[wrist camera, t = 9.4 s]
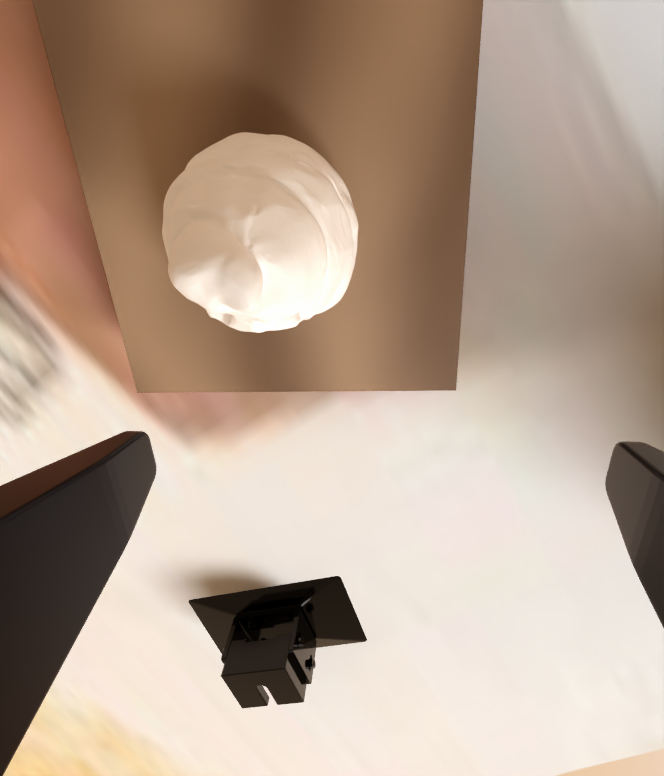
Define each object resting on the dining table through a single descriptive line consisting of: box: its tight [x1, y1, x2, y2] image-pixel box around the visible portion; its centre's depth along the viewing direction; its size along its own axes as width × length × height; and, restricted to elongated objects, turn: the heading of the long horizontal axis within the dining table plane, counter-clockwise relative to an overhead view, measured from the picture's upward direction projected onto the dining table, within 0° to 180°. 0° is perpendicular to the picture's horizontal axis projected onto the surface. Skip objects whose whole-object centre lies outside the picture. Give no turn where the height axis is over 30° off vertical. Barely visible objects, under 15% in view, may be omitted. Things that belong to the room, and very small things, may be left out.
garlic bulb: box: [162, 132, 358, 333], centre depth 12 cm, size 6×6×5 cm
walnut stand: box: [32, 0, 483, 393], centre depth 16 cm, size 12×12×3 cm
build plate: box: [189, 576, 367, 708], centre depth 27 cm, size 12×7×5 cm, turn 108°
